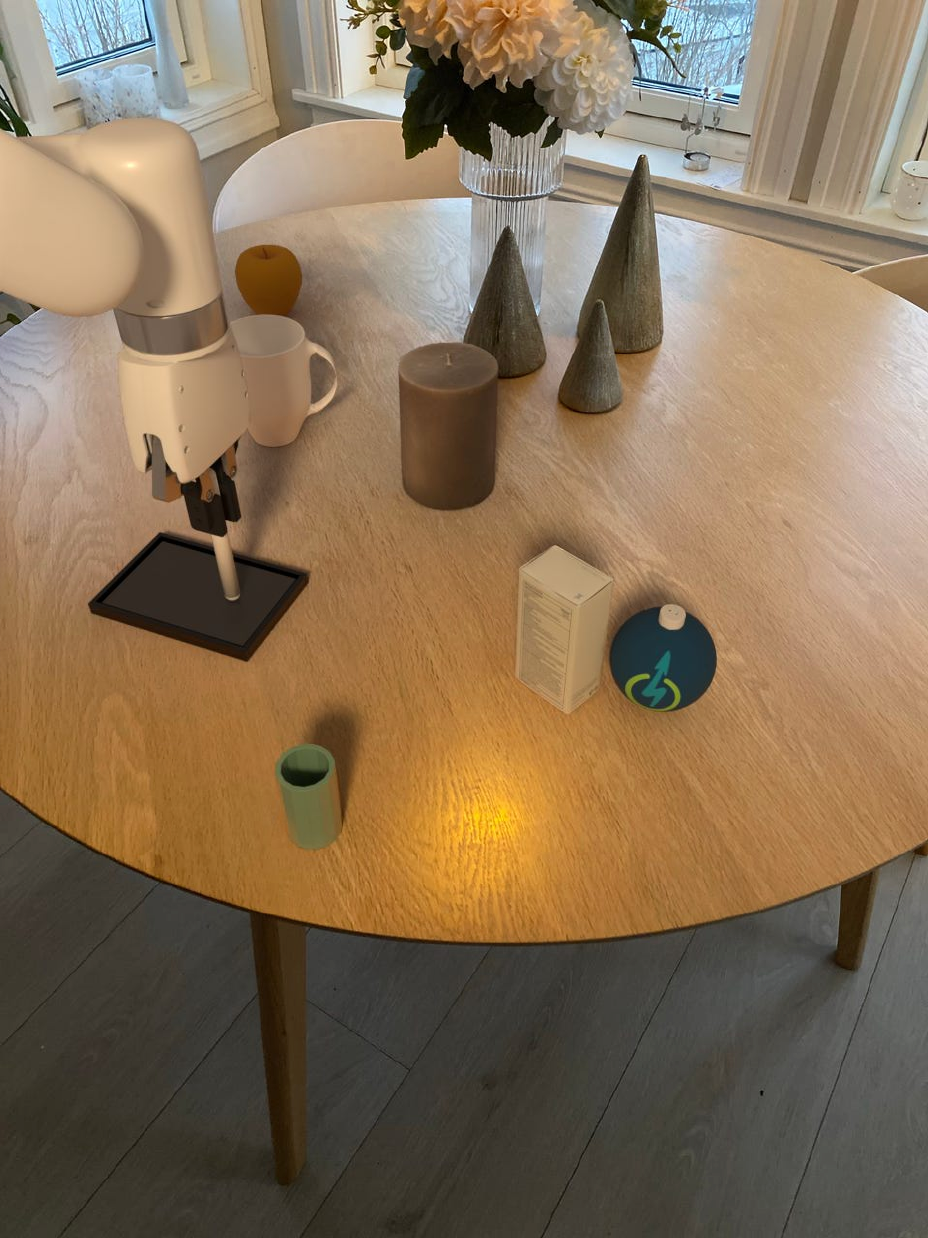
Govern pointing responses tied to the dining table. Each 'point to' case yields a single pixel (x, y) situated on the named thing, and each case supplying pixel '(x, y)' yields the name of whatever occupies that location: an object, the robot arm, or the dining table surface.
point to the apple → (269, 279)
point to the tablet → (186, 635)
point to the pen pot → (309, 796)
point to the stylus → (225, 556)
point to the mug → (278, 376)
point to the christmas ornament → (663, 658)
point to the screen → (199, 594)
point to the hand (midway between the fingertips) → (216, 523)
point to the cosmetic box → (562, 627)
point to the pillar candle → (448, 424)
